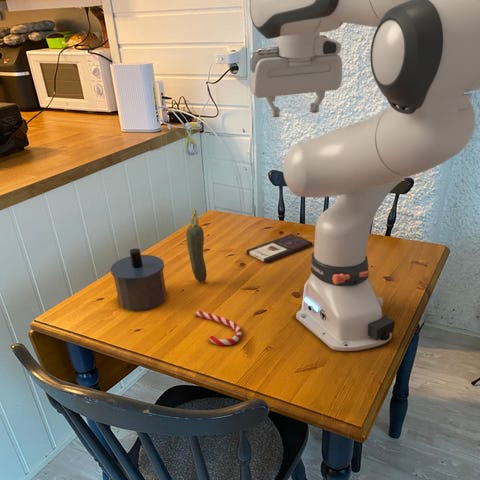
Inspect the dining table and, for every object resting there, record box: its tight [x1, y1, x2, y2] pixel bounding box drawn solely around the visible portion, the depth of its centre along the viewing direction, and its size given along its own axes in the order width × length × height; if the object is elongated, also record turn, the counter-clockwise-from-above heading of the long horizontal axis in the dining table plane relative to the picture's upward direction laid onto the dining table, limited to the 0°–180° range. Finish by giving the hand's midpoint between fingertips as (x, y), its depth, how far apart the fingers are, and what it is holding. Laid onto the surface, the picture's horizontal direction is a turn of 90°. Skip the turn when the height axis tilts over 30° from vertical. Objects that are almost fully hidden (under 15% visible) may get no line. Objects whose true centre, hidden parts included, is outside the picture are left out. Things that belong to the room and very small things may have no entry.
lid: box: [110, 248, 165, 280], centre depth 111 cm, size 13×13×5 cm
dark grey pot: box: [113, 269, 167, 312], centre depth 114 cm, size 12×12×8 cm
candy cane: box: [195, 310, 243, 346], centre depth 104 cm, size 8×1×15 cm
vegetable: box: [185, 207, 208, 284], centre depth 117 cm, size 4×4×20 cm
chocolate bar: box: [246, 233, 313, 264], centre depth 138 cm, size 9×1×18 cm
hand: (294, 114), depth 107 cm, fingers open, 8 cm apart
